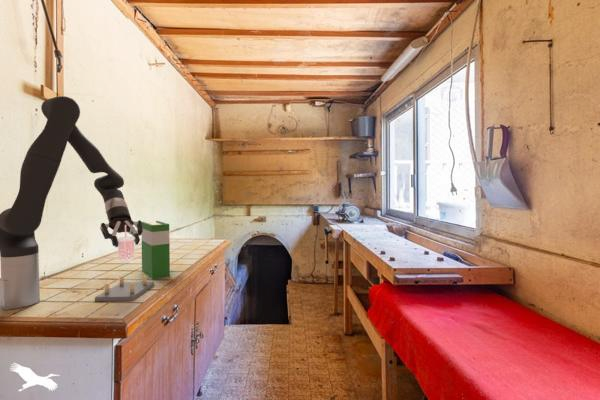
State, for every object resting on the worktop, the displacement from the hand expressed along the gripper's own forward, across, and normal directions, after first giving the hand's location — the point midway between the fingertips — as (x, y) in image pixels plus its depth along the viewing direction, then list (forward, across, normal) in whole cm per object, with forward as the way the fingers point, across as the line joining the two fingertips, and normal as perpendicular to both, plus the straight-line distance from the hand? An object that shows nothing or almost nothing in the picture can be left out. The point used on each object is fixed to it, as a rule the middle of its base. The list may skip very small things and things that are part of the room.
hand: (127, 244), depth 104 cm
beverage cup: (+4, 0, +6) cm, 7 cm away
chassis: (+12, 0, +14) cm, 19 cm away
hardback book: (-1, +17, +28) cm, 33 cm away
